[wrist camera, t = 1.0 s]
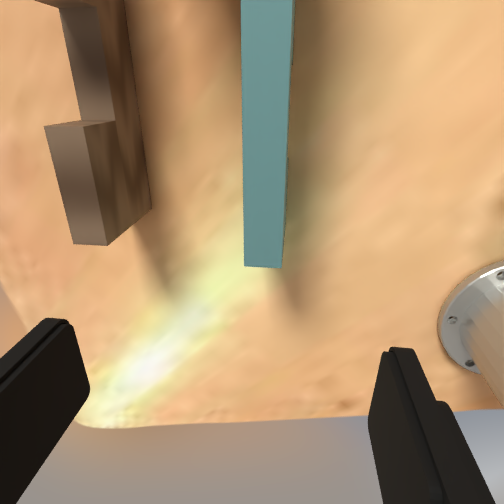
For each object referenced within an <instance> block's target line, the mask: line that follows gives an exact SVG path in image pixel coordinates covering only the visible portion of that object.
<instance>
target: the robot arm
mask: <svg viewBox="0 0 504 504" xmlns="http://www.w3.org/2000/svg"><path fill="white" fill-rule="evenodd" d="M437 327H438V333H439V338H440V340H441V342H442V345H443V346H444V348H445V350H446V351H447V353H448V355H449V356H450V357H451V358H452V359H453V360H454V361H455V362H456V363H457V364H459V365H460V366H462V367H463V368H465V369H467V370H470V371H472V372H474V373H477V374H481V375H482V376H483V377H484V379H485V380H486V382H487V384H488V385H489V387H490V388H491V390H492V391H493V393H494V395H495V396H496V398H497V399H498V401H499V402H500V404H501V406H502V407H503V409H504V260H503V261H499V262H496V263H494V264H491V265H489V266H486V267H484V268H482V269H480V270H478V271H477V272H475V273H473V274H471V275H470V276H468V277H467V278H466V279H465V280H463V281H462V282H461V283H460V284H458V285H457V286H456V288H455V289H454V290H453V291H452V292H451V293H450V294H449V296H448V297H447V299H446V300H445V302H444V304H443V305H442V308H441V311H440V314H439V317H438V326H437ZM89 393H90V385H89V381H88V378H87V374H86V371H85V367H84V363H83V360H82V356H81V353H80V349H79V345H78V342H77V338H76V335H75V331H74V328H73V326H72V325H70V324H69V322H68V321H67V320H65V319H56V318H45V319H44V320H42V321H41V322H40V323H39V324H38V325H37V326H36V327H34V328H33V329H32V330H31V331H30V332H29V333H28V334H27V335H26V336H25V337H23V338H22V339H21V340H20V341H19V342H18V343H17V344H16V345H15V346H14V347H12V348H11V349H10V350H9V351H8V352H7V353H6V354H5V355H4V356H3V357H2V358H0V504H16V503H17V501H18V500H19V498H20V497H21V495H22V494H23V493H24V491H25V490H26V488H27V486H28V485H29V484H30V482H31V481H32V479H33V478H34V476H35V475H36V473H37V472H38V470H39V469H40V468H41V466H42V465H43V463H44V462H45V460H46V459H47V457H48V456H49V454H50V453H51V451H52V450H53V448H54V447H55V445H56V444H57V442H58V441H59V440H60V438H61V437H62V435H63V434H64V432H65V431H66V429H67V428H68V426H69V425H70V423H71V422H72V420H73V419H74V417H75V416H76V415H77V413H78V412H79V410H80V409H81V407H82V406H83V404H84V403H85V401H86V400H87V398H88V396H89ZM368 429H369V435H370V440H371V445H372V450H373V455H374V459H375V464H376V469H377V475H378V479H379V485H380V489H381V494H382V499H383V504H495V501H494V499H493V497H492V495H491V493H490V491H489V489H488V486H487V484H486V482H485V480H484V478H483V476H482V474H481V472H480V469H479V467H478V465H477V463H476V461H475V459H474V457H473V455H472V453H471V450H470V448H469V446H468V444H467V442H466V440H465V438H464V436H463V433H462V431H461V429H460V427H459V425H458V423H457V421H456V419H455V416H454V414H453V412H452V410H451V408H450V407H449V405H448V404H447V403H446V402H444V401H436V399H435V397H434V394H433V392H432V390H431V388H430V385H429V383H428V381H427V378H426V376H425V374H424V371H423V369H422V367H421V365H420V362H419V360H418V358H417V355H416V353H415V351H414V350H413V349H412V348H400V347H390V349H389V352H385V351H384V352H383V353H382V356H381V361H380V365H379V370H378V374H377V379H376V383H375V388H374V392H373V397H372V401H371V406H370V411H369V415H368Z"/></svg>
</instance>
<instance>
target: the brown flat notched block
mask: <svg viewBox="0 0 504 504" xmlns="http://www.w3.org/2000/svg"><path fill="white" fill-rule="evenodd" d="M35 1H38V2H41V3H44V4H47V5H51V6H54V7H57V8H59V13H60V18H61V22H62V27H63V32H64V37H65V42H66V47H67V52H68V56H69V61H70V66H71V71H72V76H73V81H74V86H75V90H76V95H77V100H78V105H79V110H80V115H81V120H80V121H73V122H67V123H61V124H54V125H48V126H44V129H45V133H46V137H47V141H48V145H49V149H50V153H51V157H52V161H53V165H54V169H55V173H56V177H57V181H58V185H59V188H60V192H61V196H62V200H63V204H64V208H65V212H66V216H67V220H68V224H69V228H70V232H71V236H72V240H73V244H82V245H101V246H108V245H109V244H110V243H111V242H113V241H114V240H115V239H116V238H117V237H119V236H120V235H121V234H122V233H123V232H125V231H126V230H127V229H128V228H129V227H131V226H132V225H133V224H134V223H135V222H137V221H138V220H139V219H140V218H141V217H143V216H144V215H145V214H146V213H147V212H148V211H150V210H151V209H152V206H151V198H150V191H149V184H148V176H147V169H146V162H145V154H144V147H143V140H142V132H141V125H140V117H139V110H138V103H137V95H136V88H135V81H134V73H133V66H132V59H131V51H130V44H129V37H128V29H127V22H126V15H125V7H124V0H35Z"/></svg>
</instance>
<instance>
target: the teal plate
mask: <svg viewBox="0 0 504 504" xmlns="http://www.w3.org/2000/svg"><path fill="white" fill-rule="evenodd" d="M294 19H295V0H241V63H242V138H243V213H244V266H249V267H267V268H282V257H283V246H284V235H285V224H286V202H287V179H288V157H287V156H288V133H289V109H290V86H291V65H293V42H294Z"/></svg>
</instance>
